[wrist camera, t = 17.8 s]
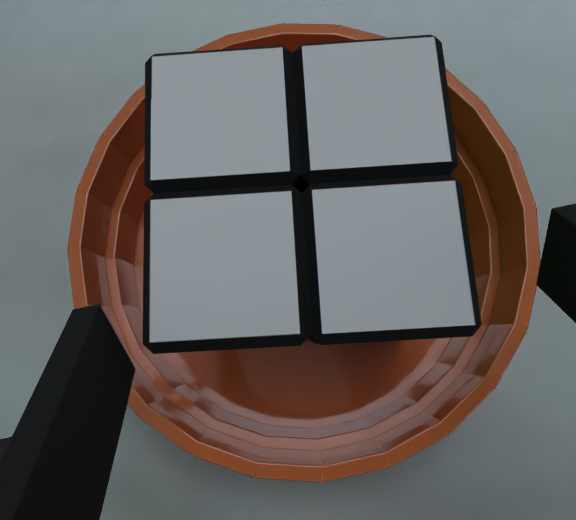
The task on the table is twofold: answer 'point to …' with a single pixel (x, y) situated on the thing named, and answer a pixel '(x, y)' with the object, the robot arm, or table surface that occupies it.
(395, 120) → the puzzle cube
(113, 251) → the bowl
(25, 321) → the table surface
